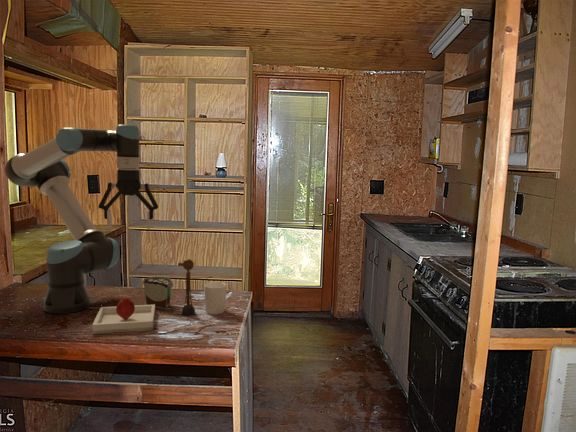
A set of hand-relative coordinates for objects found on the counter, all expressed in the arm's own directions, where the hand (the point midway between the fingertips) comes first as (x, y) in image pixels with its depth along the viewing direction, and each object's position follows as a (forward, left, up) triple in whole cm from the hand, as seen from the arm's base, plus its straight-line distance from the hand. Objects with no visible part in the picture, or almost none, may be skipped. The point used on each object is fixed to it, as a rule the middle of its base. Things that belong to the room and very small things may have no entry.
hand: (129, 228), depth 161 cm
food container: (+11, -1, -29) cm, 31 cm away
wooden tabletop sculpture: (+20, -12, -29) cm, 37 cm away
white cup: (+30, -11, -29) cm, 43 cm away
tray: (0, -17, -29) cm, 34 cm away
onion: (0, -17, -28) cm, 33 cm away
